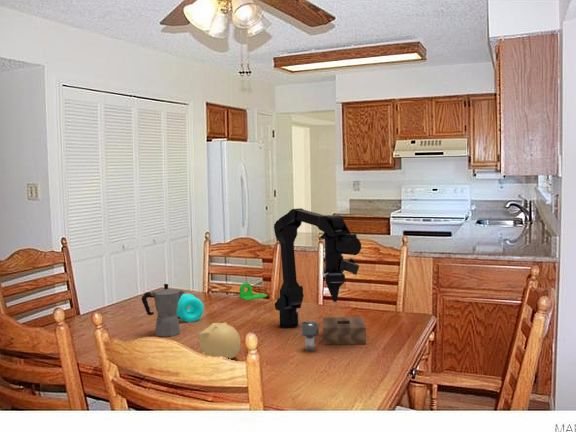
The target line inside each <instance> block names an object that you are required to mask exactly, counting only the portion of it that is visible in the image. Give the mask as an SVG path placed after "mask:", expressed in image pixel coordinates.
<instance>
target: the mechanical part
mask: <svg viewBox="0 0 576 432" xmlns="http://www.w3.org/2000/svg"><path fill="white" fill-rule="evenodd" d="M245 288H247V290H246V291H245ZM239 298H240V299H242V298H243V299H242V300H244V299H245V300H244V301H247V300H248V301H249V300H254V299H255V300H257V299H263V298H267V294H266V293H263V292H262V293H256V294H255V293H253V286H252V285H251V284H250V283H247V282H243V283H241V285H240V286H239Z"/></svg>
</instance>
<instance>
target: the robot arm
mask: <svg viewBox="0 0 576 432" xmlns="http://www.w3.org/2000/svg"><path fill="white" fill-rule="evenodd" d="M302 223H305V224H309V225H312V226H315V227H317V229H318V230H320V232H323V233H322V234H321V235H320V237H319V239H320V240H324V267H323V277H324V280H325V284H326V286H327V289H328V292H329V294H330V296H331V300H332V301H333V302H334V303H337V302H338V298H339V292H340V287H341V286H343V285H344V284H345V282H346V276H345V274H344V272H347V273H351V274H352V275H355V276H357V275H358V272H359V269H360V265H359V264H358V263H356V261H355V259H354V258H351V257H350V258H348V259H347V260H346V259H344V256H343V255H349V256H357V255H359V254H360V252H361V249H362V242H361V240H360V239H359V238H358V237H357V234H356V233H351V231H350V229H349V228H348V226H347V224H346V222H345V220H344V217H343V216H342V215H339V214H321V213H317V212H314V211H310V210H308V209H307V210H306V209H304V208H299V207H298V208H291V209H290V210H289V211H288V213H285V214H284V215H283V216H281V217H280V218H278V219H277V220H276V221H275V222H274V224H273V231H274V235H275V236H274V237H275V238H276V240H277V241H278V243H279V245H280V258H281V269H282V285H281V287H280V289H279V297H278V299H277V300H276V301H275V303H274V307H275V309H274V310H276V311H279V325H278V327H279V328H297V327H298V325H299V319H300V318H299V312H298V310H297V309H301V307H302V303H303V300H304V297H305V295H304V288H303V286H302V285H300V284H299V283H298V281H297V270H296V269H297V268H296V256H295V241H296V239H297V236H298V228H300V227H301V226H302Z"/></svg>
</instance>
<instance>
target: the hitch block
mask: <svg viewBox="0 0 576 432" xmlns="http://www.w3.org/2000/svg"><path fill="white" fill-rule="evenodd" d="M365 323H366V322H365V320H364V317H363V316H360V317H359V316H358V317H357V316H354V317H353V316H349V317H348V316H347V317H345V316H343V317H341V316H339V317H335V316H333V317H332V316H328V317H327V316H325V317H322V344H323V345H366V344H367V328H366V324H365Z"/></svg>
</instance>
